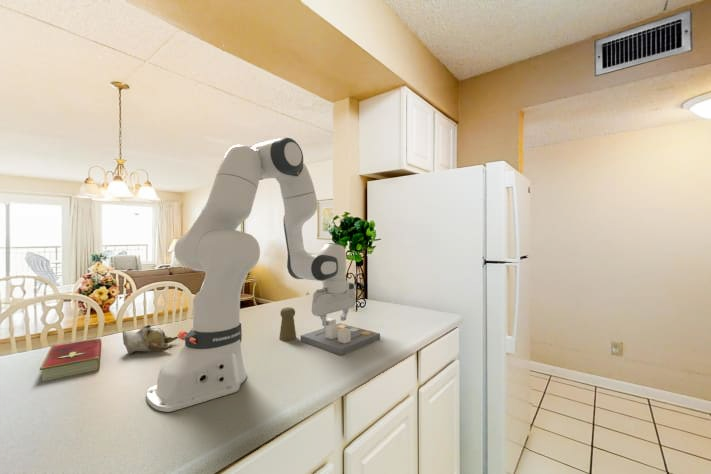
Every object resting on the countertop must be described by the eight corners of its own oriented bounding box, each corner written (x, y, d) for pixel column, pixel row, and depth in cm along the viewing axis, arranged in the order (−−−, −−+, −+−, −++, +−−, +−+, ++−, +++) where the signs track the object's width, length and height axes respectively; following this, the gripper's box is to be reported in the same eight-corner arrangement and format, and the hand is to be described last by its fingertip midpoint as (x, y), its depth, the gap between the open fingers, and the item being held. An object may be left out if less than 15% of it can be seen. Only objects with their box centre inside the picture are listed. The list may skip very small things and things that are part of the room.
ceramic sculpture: (129, 321, 105) (179, 320, 110) (127, 347, 105) (178, 344, 110) (116, 331, 95) (172, 329, 100) (114, 359, 95) (170, 356, 100)
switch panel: (341, 355, 98) (341, 348, 98) (300, 341, 111) (300, 334, 111) (380, 339, 113) (380, 333, 113) (339, 328, 126) (339, 322, 126)
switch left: (329, 332, 114) (329, 321, 114) (324, 330, 116) (324, 319, 116) (335, 330, 117) (335, 319, 116) (330, 328, 119) (330, 318, 118)
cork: (298, 335, 117) (298, 306, 117) (293, 341, 111) (293, 310, 111) (282, 335, 118) (282, 305, 117) (276, 340, 112) (276, 309, 111)
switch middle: (331, 339, 107) (331, 327, 106) (325, 337, 108) (325, 325, 108) (337, 337, 109) (337, 325, 109) (331, 335, 111) (331, 324, 111)
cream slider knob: (344, 343, 103) (344, 331, 103) (337, 341, 105) (337, 329, 104) (350, 341, 105) (350, 329, 105) (344, 339, 107) (344, 327, 107)
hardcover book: (101, 349, 105) (101, 336, 105) (99, 371, 88) (99, 356, 88) (51, 358, 98) (51, 344, 97) (39, 384, 81) (39, 367, 81)
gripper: (319, 291, 108) (319, 331, 108) (358, 283, 124) (358, 318, 124) (307, 289, 112) (307, 327, 113) (346, 282, 128) (346, 316, 128)
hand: (334, 323), depth 118 cm, fingers open, 8 cm apart
